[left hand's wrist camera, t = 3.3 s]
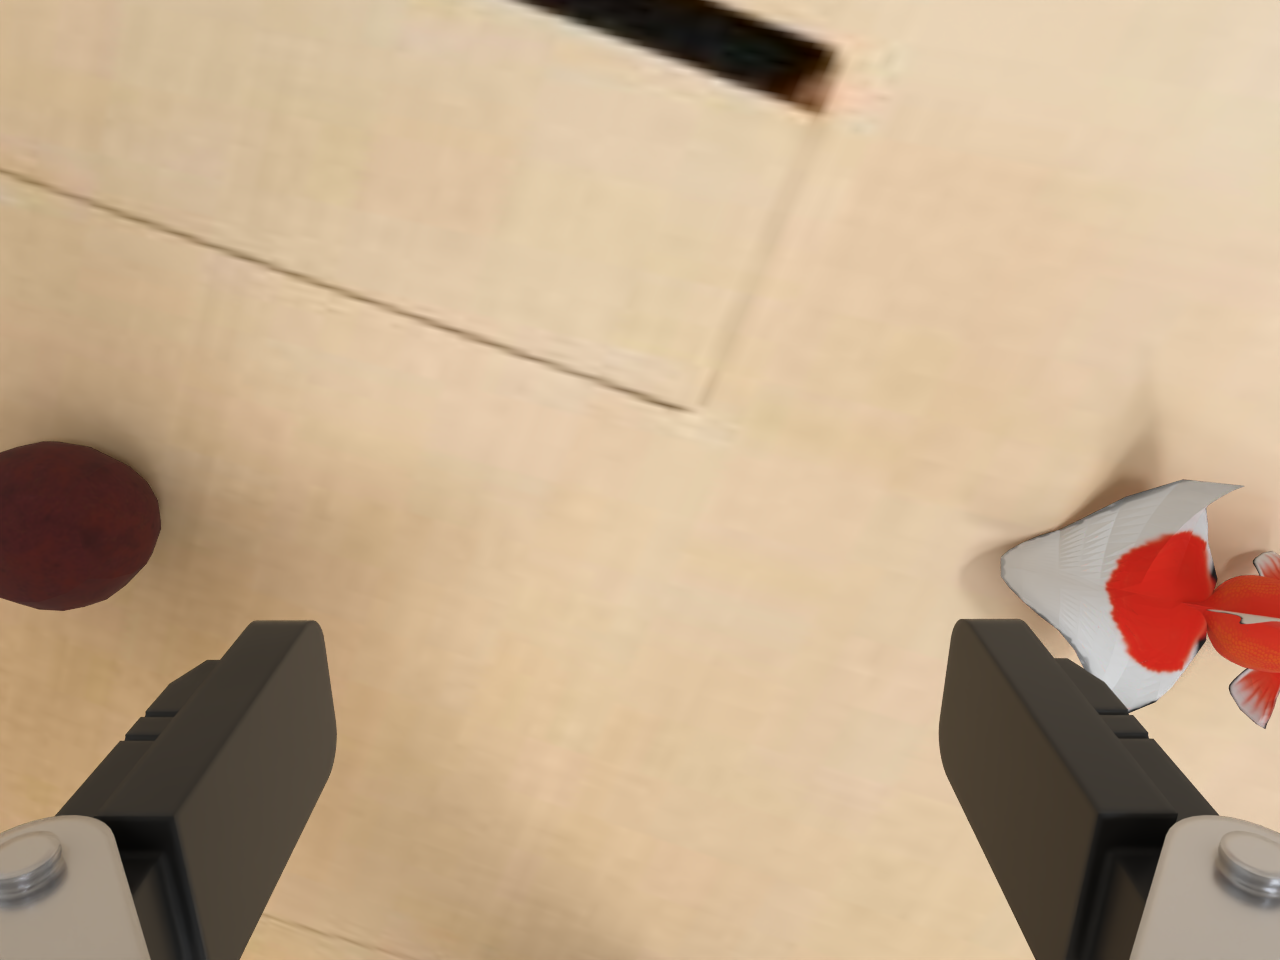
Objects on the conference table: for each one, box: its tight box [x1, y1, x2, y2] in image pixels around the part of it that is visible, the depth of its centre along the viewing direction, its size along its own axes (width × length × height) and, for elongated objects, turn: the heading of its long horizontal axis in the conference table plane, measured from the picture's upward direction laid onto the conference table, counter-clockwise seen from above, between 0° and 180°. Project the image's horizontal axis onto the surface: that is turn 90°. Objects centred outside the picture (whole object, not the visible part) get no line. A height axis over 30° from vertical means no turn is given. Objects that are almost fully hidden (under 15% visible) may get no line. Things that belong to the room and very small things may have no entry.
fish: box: [1001, 479, 1280, 729], centre depth 40 cm, size 11×16×10 cm
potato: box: [0, 442, 161, 611], centre depth 39 cm, size 7×8×7 cm
